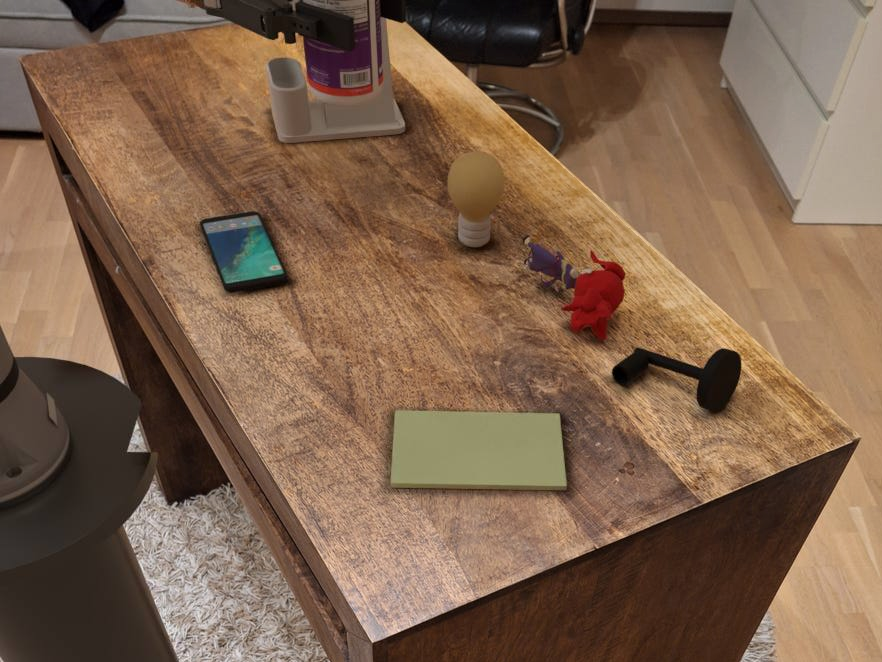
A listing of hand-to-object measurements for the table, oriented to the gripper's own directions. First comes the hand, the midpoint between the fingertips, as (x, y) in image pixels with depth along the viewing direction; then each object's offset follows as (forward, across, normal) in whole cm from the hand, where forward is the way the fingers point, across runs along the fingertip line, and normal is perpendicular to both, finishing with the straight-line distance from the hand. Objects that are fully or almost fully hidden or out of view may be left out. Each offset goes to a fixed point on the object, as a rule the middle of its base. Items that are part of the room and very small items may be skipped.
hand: (378, 20), depth 89 cm
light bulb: (+10, -4, -22) cm, 24 cm away
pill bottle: (-5, 0, -8) cm, 9 cm away
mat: (+29, +26, -22) cm, 45 cm away
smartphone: (-10, +14, -22) cm, 28 cm away
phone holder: (-21, -18, -22) cm, 36 cm away
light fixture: (+40, +10, -22) cm, 47 cm away
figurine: (+25, +2, -22) cm, 33 cm away
